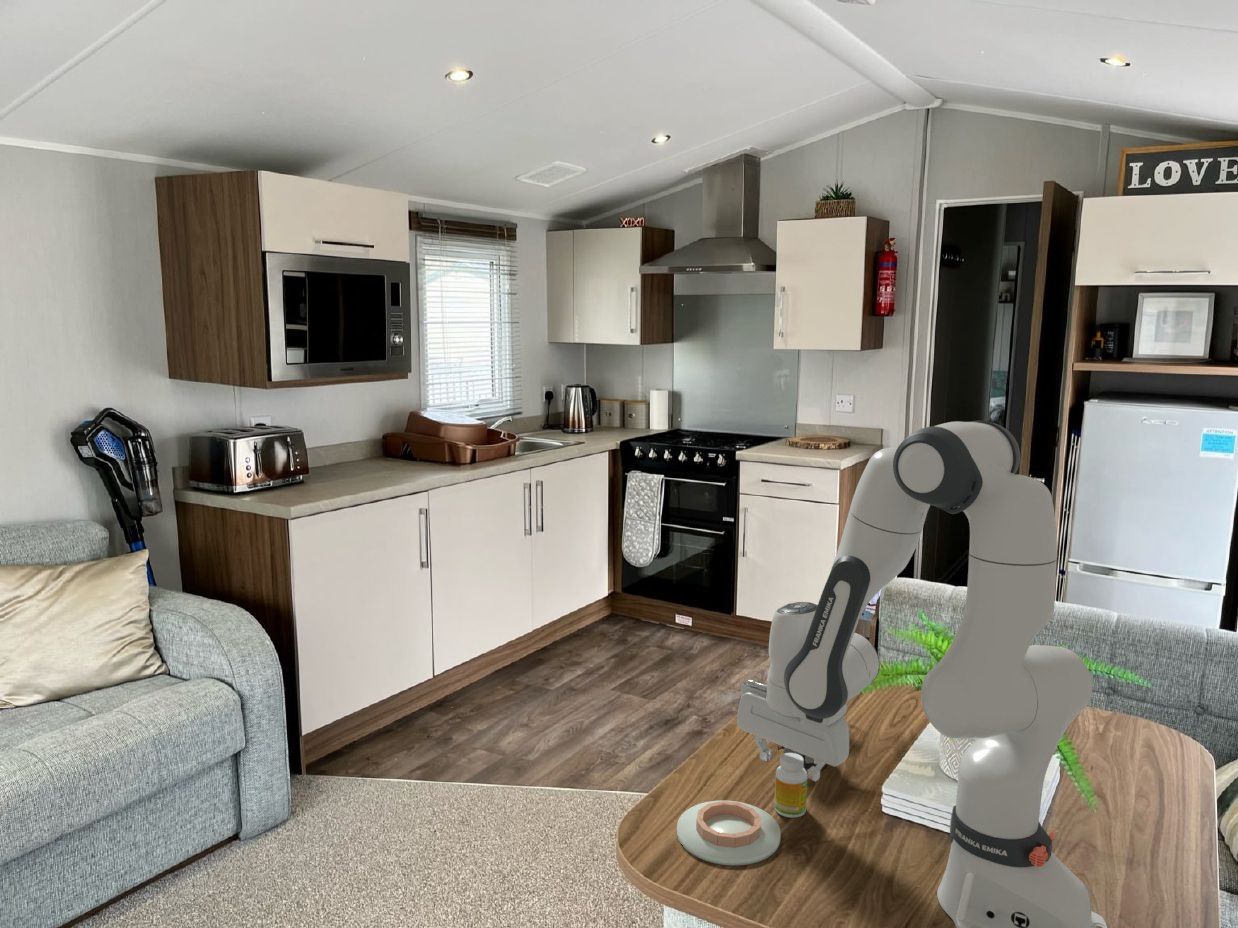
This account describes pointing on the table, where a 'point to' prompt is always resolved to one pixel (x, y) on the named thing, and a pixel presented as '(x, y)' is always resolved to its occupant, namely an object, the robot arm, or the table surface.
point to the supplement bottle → (791, 786)
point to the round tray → (731, 828)
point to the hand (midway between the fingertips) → (789, 769)
